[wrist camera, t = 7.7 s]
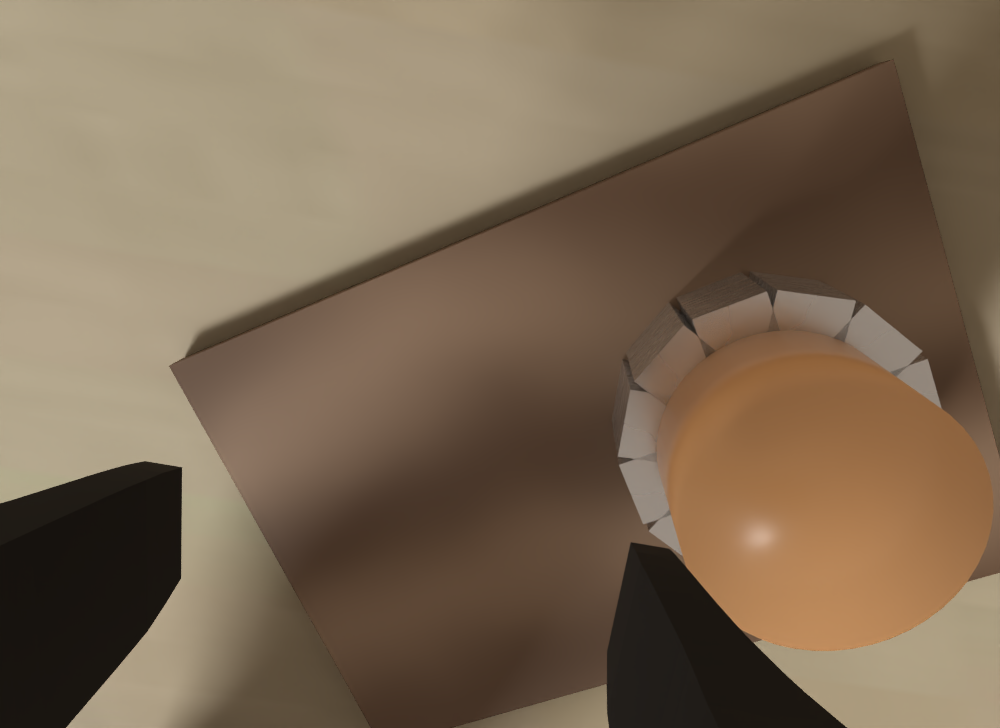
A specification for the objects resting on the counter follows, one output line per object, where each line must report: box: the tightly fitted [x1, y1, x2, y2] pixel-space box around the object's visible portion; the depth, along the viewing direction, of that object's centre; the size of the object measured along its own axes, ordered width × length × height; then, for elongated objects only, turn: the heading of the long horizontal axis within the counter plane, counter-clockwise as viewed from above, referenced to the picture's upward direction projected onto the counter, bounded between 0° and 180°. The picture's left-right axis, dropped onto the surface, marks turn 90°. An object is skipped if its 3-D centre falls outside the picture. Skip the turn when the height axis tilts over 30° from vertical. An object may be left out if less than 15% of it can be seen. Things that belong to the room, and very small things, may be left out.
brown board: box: [169, 60, 1000, 728], centre depth 21 cm, size 14×20×1 cm
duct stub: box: [612, 271, 942, 556], centre depth 18 cm, size 7×7×2 cm
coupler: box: [657, 330, 993, 651], centre depth 16 cm, size 6×6×6 cm
